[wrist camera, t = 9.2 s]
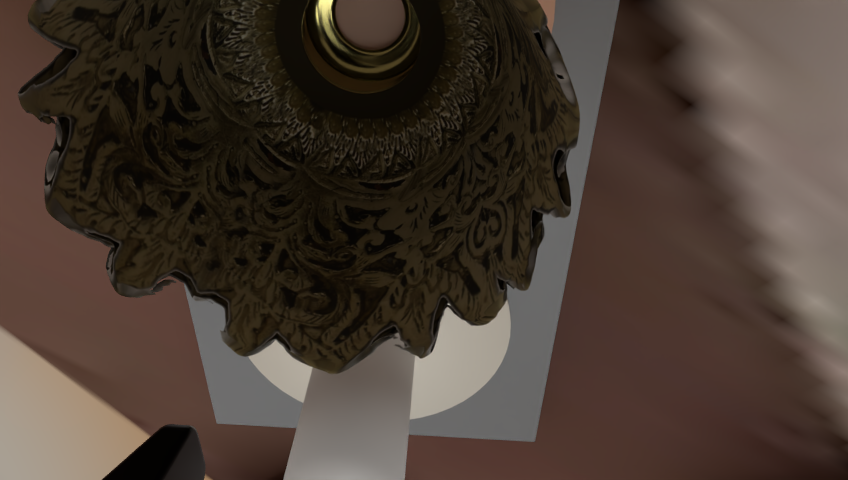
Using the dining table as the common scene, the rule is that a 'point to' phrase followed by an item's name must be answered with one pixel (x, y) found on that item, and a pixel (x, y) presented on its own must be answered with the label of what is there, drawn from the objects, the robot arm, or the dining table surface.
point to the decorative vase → (309, 161)
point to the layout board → (457, 340)
